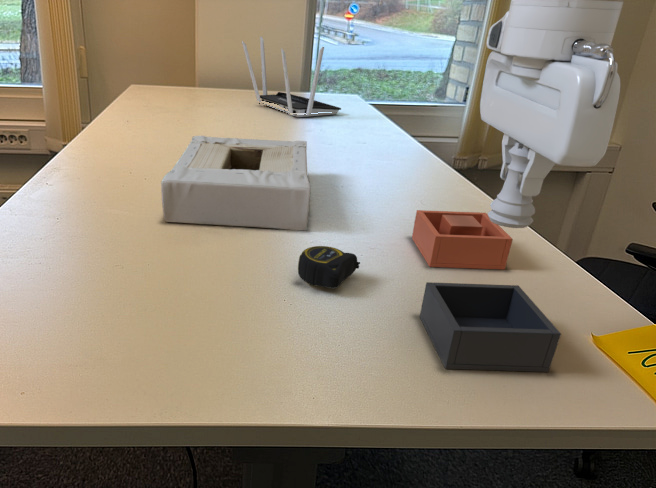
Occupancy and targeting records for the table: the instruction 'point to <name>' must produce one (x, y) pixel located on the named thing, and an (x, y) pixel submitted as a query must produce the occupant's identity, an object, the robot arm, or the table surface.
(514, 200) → the rook chess piece
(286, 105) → the wireless router
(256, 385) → the table surface
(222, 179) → the box
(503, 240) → the terracotta bin
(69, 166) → the table surface
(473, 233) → the terracotta block
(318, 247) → the tape measure
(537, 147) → the robot arm
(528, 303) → the charcoal bin
